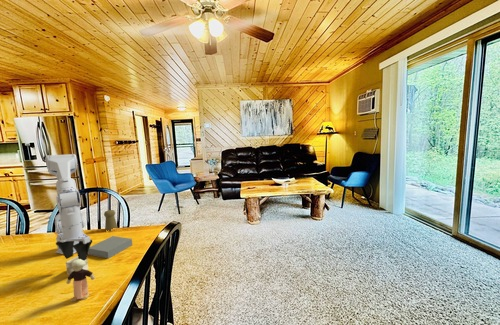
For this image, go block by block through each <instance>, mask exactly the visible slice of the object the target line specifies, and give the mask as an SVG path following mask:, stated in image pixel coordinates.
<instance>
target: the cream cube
mask: <svg viewBox="0 0 500 325" xmlns="http://www.w3.org/2000/svg"><path fill="white" fill-rule="evenodd" d="M78 259H79V258H78V255H77V256H75V257H73V258H70V260H68V261H66V262H65V266H66V274H67V275H68V276H69V275H70V274H71V273H72V272H73V271H74V270H73V267H72V262H73V261H74V260H78ZM84 261H85V263H86V264H85V265H84V266H83V268H82V269H85V270H88V271H89V264H88V258H87V259H86V260H84Z"/></svg>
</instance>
